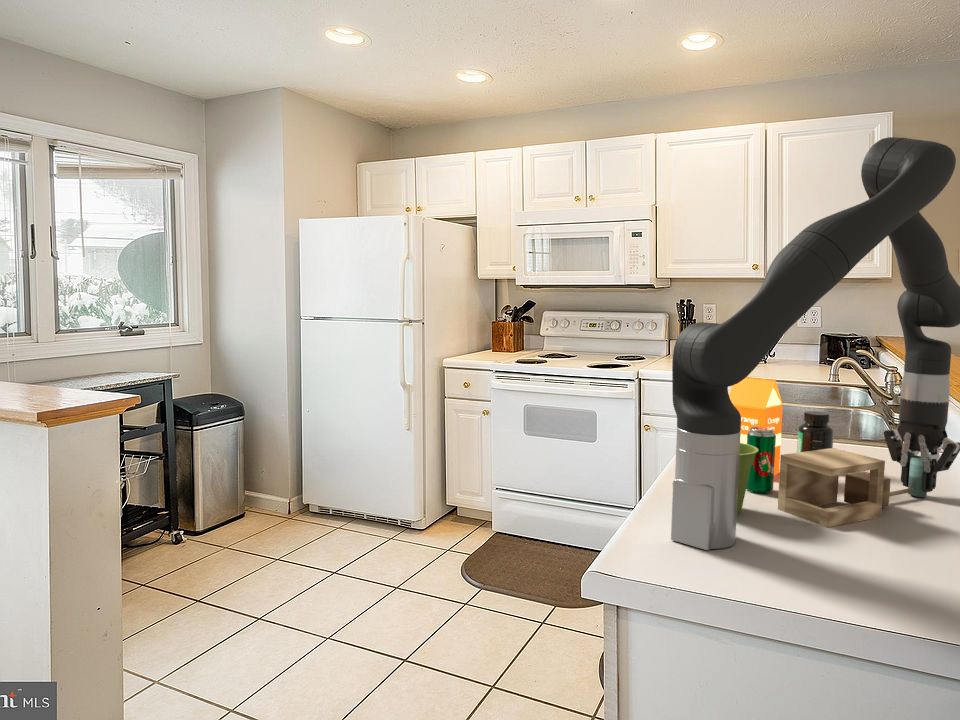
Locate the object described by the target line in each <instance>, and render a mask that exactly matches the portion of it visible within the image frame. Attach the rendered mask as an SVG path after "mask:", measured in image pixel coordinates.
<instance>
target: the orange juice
mask: <svg viewBox="0 0 960 720" xmlns="http://www.w3.org/2000/svg"><path fill="white" fill-rule="evenodd" d="M728 394H729V397H730V400H731V402H732V403H733V405H734V406H735V407H736V408H737V410H738V411H739V412H740V415H741V436H740V443H744V444H747V433H748V432H749V430H750V429H749V428H750V427H767V428H771V429H774V433H775V435H776V445H775V463H774V476H775V475H778V474H780V458H781V445H782V424H783V423H782V421H783V407H784V405H783V402H782V397H781V395H780V394H781V393H780V392H779V387H778V384H777V380H776V379H769V378H762V377H754V376H753V377H752V376H747V377H746V378H745V379H743V380H742V381H741V382H739V383H737V384H735V385H733V386H731V388H730V391H729V392H728Z"/></svg>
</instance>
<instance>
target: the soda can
mask: <svg viewBox="0 0 960 720" xmlns="http://www.w3.org/2000/svg"><path fill="white" fill-rule="evenodd" d="M749 429H750V430H749V432H748V433H747V444H749V445H752V446H754V447H756V448H758V450H759V451H758V453H756V454H755V457H754V461H753V465H752V466H751V469H750V473H749V478H748V482H747V487H746V491H747V492H749V493H753V494H761V495H763V494H764V495H765V494H766V495H767V494H770V493H772V491H773V490H774V479H775V478H774V477H775V475H774V463H775V445H776V435H775V433H774V429H771V428H767V427H750V428H749Z"/></svg>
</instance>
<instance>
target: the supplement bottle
mask: <svg viewBox="0 0 960 720" xmlns="http://www.w3.org/2000/svg"><path fill="white" fill-rule="evenodd" d="M803 422H804V423H802V424H800V425H799V426H798V428H797V441H796V442H797V444H796V453H799V452H806V451H814V450H821V449H829V448H834V432H835V431H834V429H833V427H831V426H830V425H828V424H829V423H830V413H828V412H826V411H825V412H824V411H817V410H816V411H815V410H813V411H812V410H809V411H804V413H803Z"/></svg>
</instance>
